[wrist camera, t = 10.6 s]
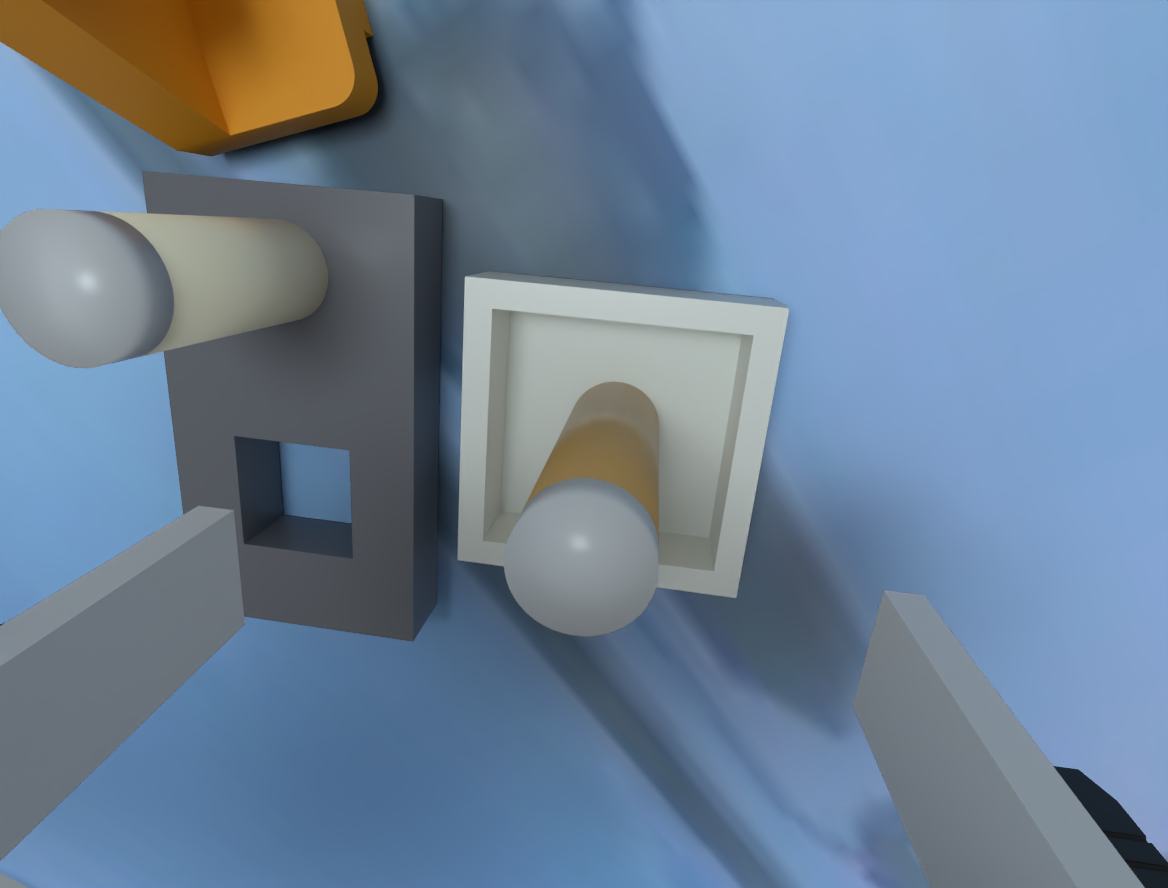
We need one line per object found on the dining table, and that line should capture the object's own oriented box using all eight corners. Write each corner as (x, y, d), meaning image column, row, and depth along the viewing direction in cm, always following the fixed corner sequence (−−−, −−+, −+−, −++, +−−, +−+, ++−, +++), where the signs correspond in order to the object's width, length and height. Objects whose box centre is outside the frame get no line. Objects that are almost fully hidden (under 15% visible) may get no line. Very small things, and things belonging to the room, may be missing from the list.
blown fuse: (567, 461, 27) (500, 624, 16) (574, 377, 26) (507, 487, 15) (652, 471, 27) (648, 646, 15) (664, 386, 26) (668, 508, 14)
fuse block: (436, 603, 31) (302, 820, 19) (237, 575, 31) (-4, 767, 20) (442, 199, 25) (259, 169, 14) (199, 178, 26) (-165, 132, 14)
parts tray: (480, 522, 29) (457, 560, 26) (490, 271, 26) (464, 276, 22) (727, 555, 28) (736, 598, 25) (772, 298, 25) (789, 308, 21)
